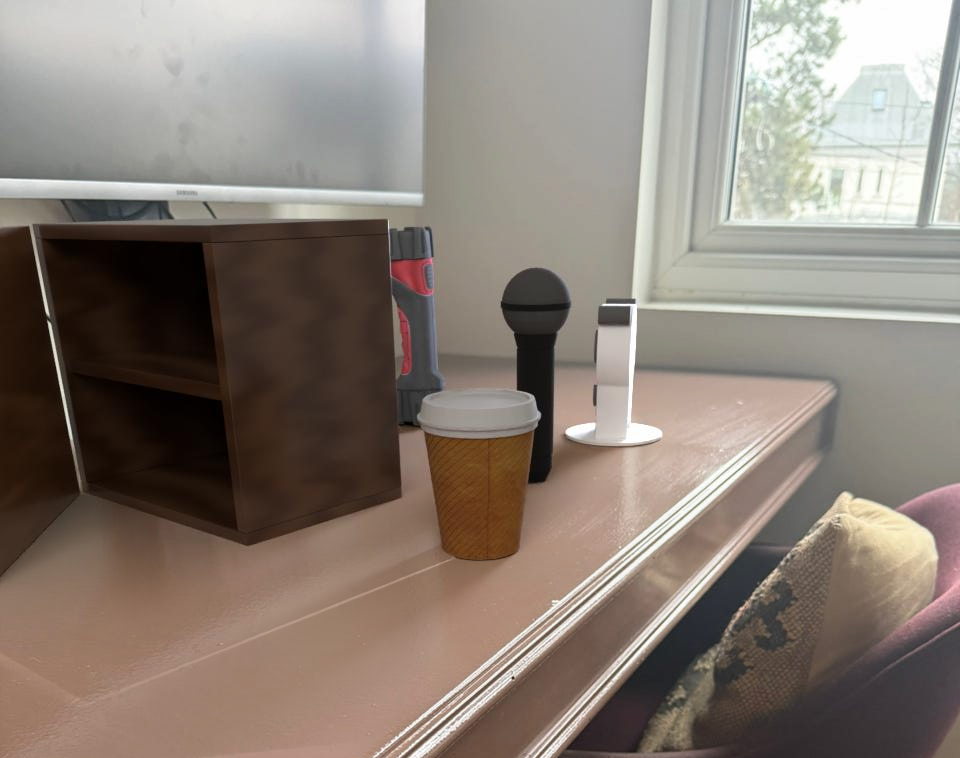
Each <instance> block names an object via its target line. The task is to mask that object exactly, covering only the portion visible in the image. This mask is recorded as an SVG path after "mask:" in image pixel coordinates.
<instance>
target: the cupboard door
mask: <svg viewBox="0 0 960 758" xmlns="http://www.w3.org/2000/svg"><path fill="white" fill-rule="evenodd" d="M38 269H39V268H38V265H37V260H36V253H35V247H34V243H33V237H32V231H31V228H30V225H11V226H10V225H9V226H0V576H1V575H3V574H4V572H6V570H7V569H8V568H9V567H10V566H11V565H12V564H13V563H14V562H16V560H17V559H18V558H20V556H21V554H23V553H24V552H25V551H26V549H28V547H29V546H31V544H32V543H33V542H35V540H36V539H37V538H38V537H39V536H40V535H41V534H42V533H43V532H44V531H45V530H46V529H47V528H48V527H49V526H50V525H51V524H52V522H54V521H55V520H56V519H57V518H58V516H59V515H61V514H62V512H64V511H65V509H66V508H67V507H68V506H69V505H70V504H72V502H73V501H74V500H75V499H77V497H78V496H79V495H80V494H81V488H80V484H79V479H78V473H77V468H76V464H75V463H76V462H75V457H74V453H73V447H72V442H71V437H70V431H69V427H68V421H67V416H66V411H65V410H66V409H65V406H64V405H65V404H64V400H63V395H62V390H61V384H60V379H59V373H58V369H57V364H56V363H57V362H56V359H55V353H54V348H53V343H52V337H51V333H50V328H49V326H50V325H49V322H48V321H49V320H48V316H47V311H46V305H45V301H44V295H43V291H42V285H41V279H40V275H39V270H38Z"/></svg>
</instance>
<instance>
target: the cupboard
mask: <svg viewBox="0 0 960 758" xmlns="http://www.w3.org/2000/svg"><path fill="white" fill-rule="evenodd" d="M31 225H32V231H33V236H34V241H35V247H36V253H37V258H38V262H39V268H40V273H41V278H42V285H43V289H44V293H45V294H44V295H45V299H46V304H47V311H48V315H49V321H50V326H51V332H52V337H53V341H54V346H55V353H56V357H57V363H58V368H59V375H60V379H61V384H62V390H63V394H64V400H65V405H66V411H67V415H68V421H69V426H70V431H71V436H72V437H71V438H72V442H73V447H74V452H75V458H76V463H77V468H78V474H79V479H80V484H81V488H82V493H84V494H87V495H91V496H93V497H96V498H100V499H102V500H106V501H109V502H112V503H114V504H118V505H121V506H124V507H127V508H130V509H132V510H136V511H138V512H139V511H140V512H141V513H142V512H143V513H145V514H149V515H151V516H154V517H157V518H160V519H164V520H166V521H169V522H173V523H176V524H178V525H182V526H185V527H188V528H190V529H194V530H197V531H199V532H203V533H206V534H209V535H212V536H216V537H218V538H222V539H225V540H227V541H231V542H234V543H237V544H239V545H243V546H246V547H251V546H254V545H257V544H260V543H262V542H266V541H270V540H272V539H276V538H279V537H282V536H285V535H289V534H292V533H295V532H298V531H302V530H304V529H307V528H311V527H314V526H317V525H321V524H323V523H326V522H329V521H333V520H336V519H340V518H342V517H345V516H349V515H352V514H355V513H358V512H362V511H364V510H367V509H370V508H371V509H372V508H374V507H377V506H380V505H384V504H386V503H390V502H393V501H396V500H399V499H402V497H403V494H402V493H403V492H402V471H401V470H402V469H401V450H400V447H401V446H400V430H399V424H398V406H397V386H396V379H397V369H396V368H397V367H396V349H395V348H396V347H395V329H394V327H395V326H394V307H393V306H394V305H393V304H394V303H393V295H392V283H391V263H390V243H389V229H390V227H389V218H177V219H175V218H173V219H143V220H141V219H139V220H109V221H108V220H106V221H74V222H71V221H70V222H69V221H67V222H39V223H38V222H36V223H32V224H31Z"/></svg>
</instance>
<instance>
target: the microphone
mask: <svg viewBox="0 0 960 758" xmlns="http://www.w3.org/2000/svg"><path fill="white" fill-rule="evenodd" d="M566 284H567V283H565V282H564V280H563V279H562V278H561V277H560V275H558V274H557V273H556V272H554V271H552V270H550V269H548V268H545V267H529V268H526V269H523V270H521V271H520V272H517V273H516V274H515V275H514V276H513V277H512V278H511V279H510V280H509V281H508V283H507V284H506V285H505V288H504V290H503V293H502V296H501V301H500V309H501V313H502V316H503V319H504V322H505V323H506V325H507V326H508V327H509V329H510V330H511V331H512V332H513V337H514V341H515V345H516V391H521V392H526V393H529V394H531V395H533V396H534V398H535V401H536V406H537V410H538V411H539V412H540V413H541V418H540V420H539V421H538V426H537V427H536V428H535V429H534V437H533V447H532V455H531V462H530V470H529V478H528V484H529V483H530V484H531V483H532V484H538V483H540V484H541V483H544V482H546V481H547V478H548V477H549V475H550V473H551V471H552V469H553V454H554V415H555V354H556V349H555V346H556V343H557V339H558V335H559V331H561V329H562V328H563V326H564V325H565V324H566V321H567V320H568V318H569V315H570V311H571V308H572V300H571V295H570V291H569V289H568V287H567V285H566Z"/></svg>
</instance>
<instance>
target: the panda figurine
mask: <svg viewBox="0 0 960 758" xmlns="http://www.w3.org/2000/svg"><path fill="white" fill-rule="evenodd" d="M597 310H598V311H597V324H598V328H597V329H596V330H595V334H594V342H593V343H594V344H593V362H594V364H596V371H595V372H596V384H593V389H592V390H593V391H592V405H593V407H595V422H590V423H583V424H578V425H574V426H570V427H569V428H567V429H566V430H565V437H566V438H567V439H568V440H571V441H573V442H576V443H580V444H584V445H585V444H586V445H591V446H599V447H600V446H601V447H602V446H603V447H631V446H632V447H633V446H640V445H647V444H651V443H654V442H657V441H659V440H661V439H662V437H663V431H662V430H660V429H659V428H657V427H654V426H651V425H646V424H641V423H633V422H632V403H633V385H634V384H633V383H634V373H635V362H636V350H637V349H636V348H637V324H638V323H637V322H638V321H637V317H638V315H637V313H638V311H637V298H619V297H618V298H617V297H616V298H614V297H612V298H610V297H609V298H607V297H606V299H605V303H602V304H601V305H598V308H597Z"/></svg>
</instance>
